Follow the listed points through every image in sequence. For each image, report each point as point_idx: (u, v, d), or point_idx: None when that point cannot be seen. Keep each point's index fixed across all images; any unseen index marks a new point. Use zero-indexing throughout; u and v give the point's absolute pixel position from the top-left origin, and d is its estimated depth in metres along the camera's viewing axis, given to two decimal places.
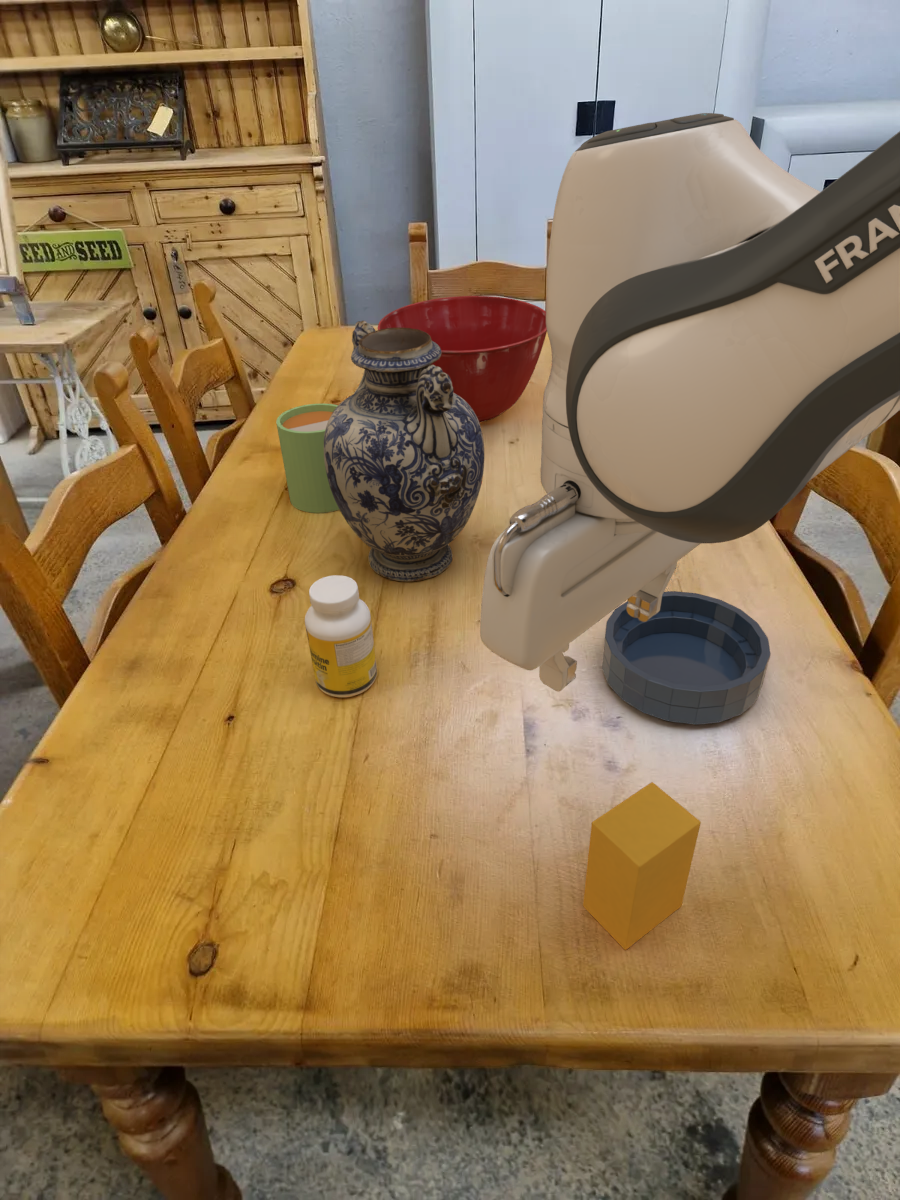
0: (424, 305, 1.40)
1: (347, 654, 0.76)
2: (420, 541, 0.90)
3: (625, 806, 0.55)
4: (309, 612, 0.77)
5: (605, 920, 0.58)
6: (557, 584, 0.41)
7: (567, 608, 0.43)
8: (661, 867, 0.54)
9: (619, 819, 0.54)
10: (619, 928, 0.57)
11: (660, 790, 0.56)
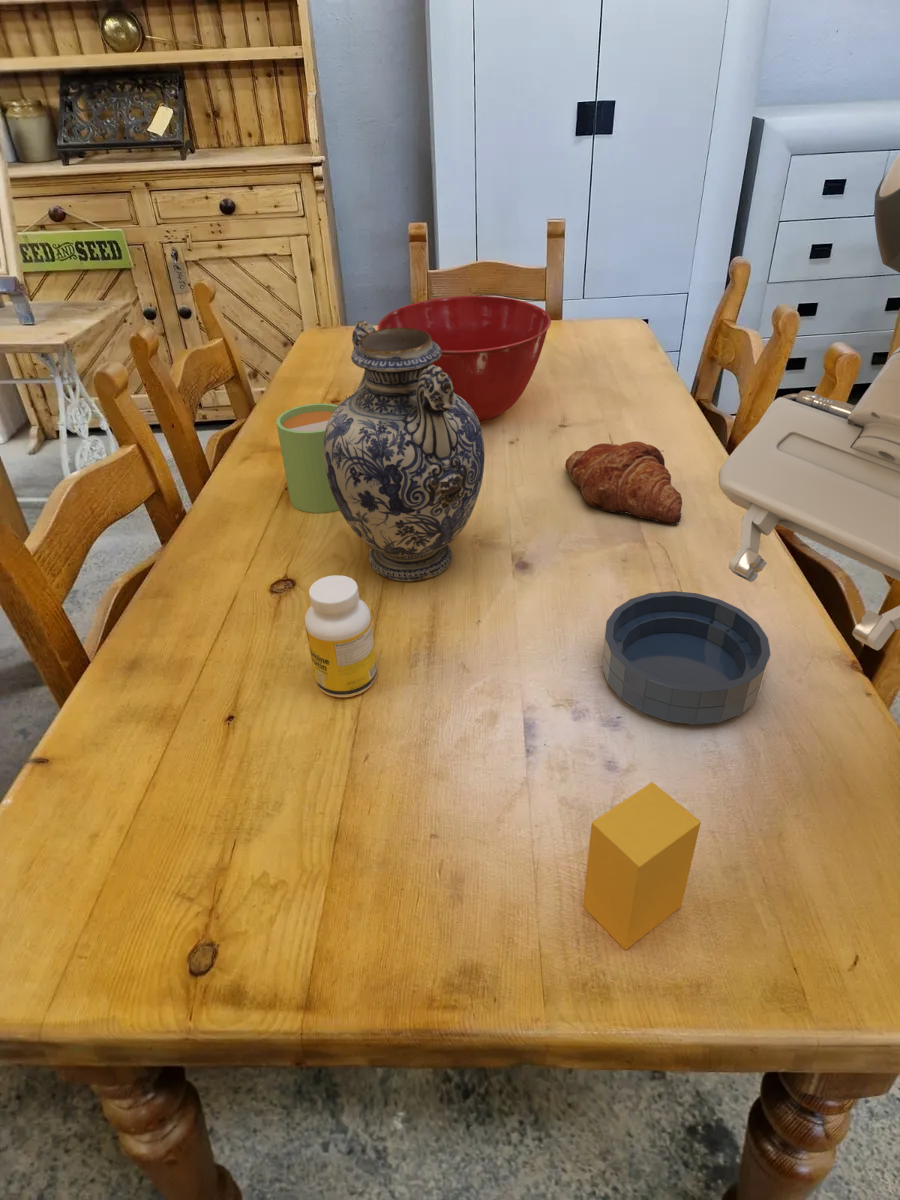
0: (425, 305, 1.40)
1: (347, 654, 0.76)
2: (420, 541, 0.90)
3: (625, 806, 0.55)
4: (309, 612, 0.77)
5: (605, 920, 0.58)
6: (779, 432, 0.55)
7: (774, 462, 0.55)
8: (661, 867, 0.54)
9: (619, 819, 0.54)
10: (619, 928, 0.57)
11: (660, 790, 0.56)
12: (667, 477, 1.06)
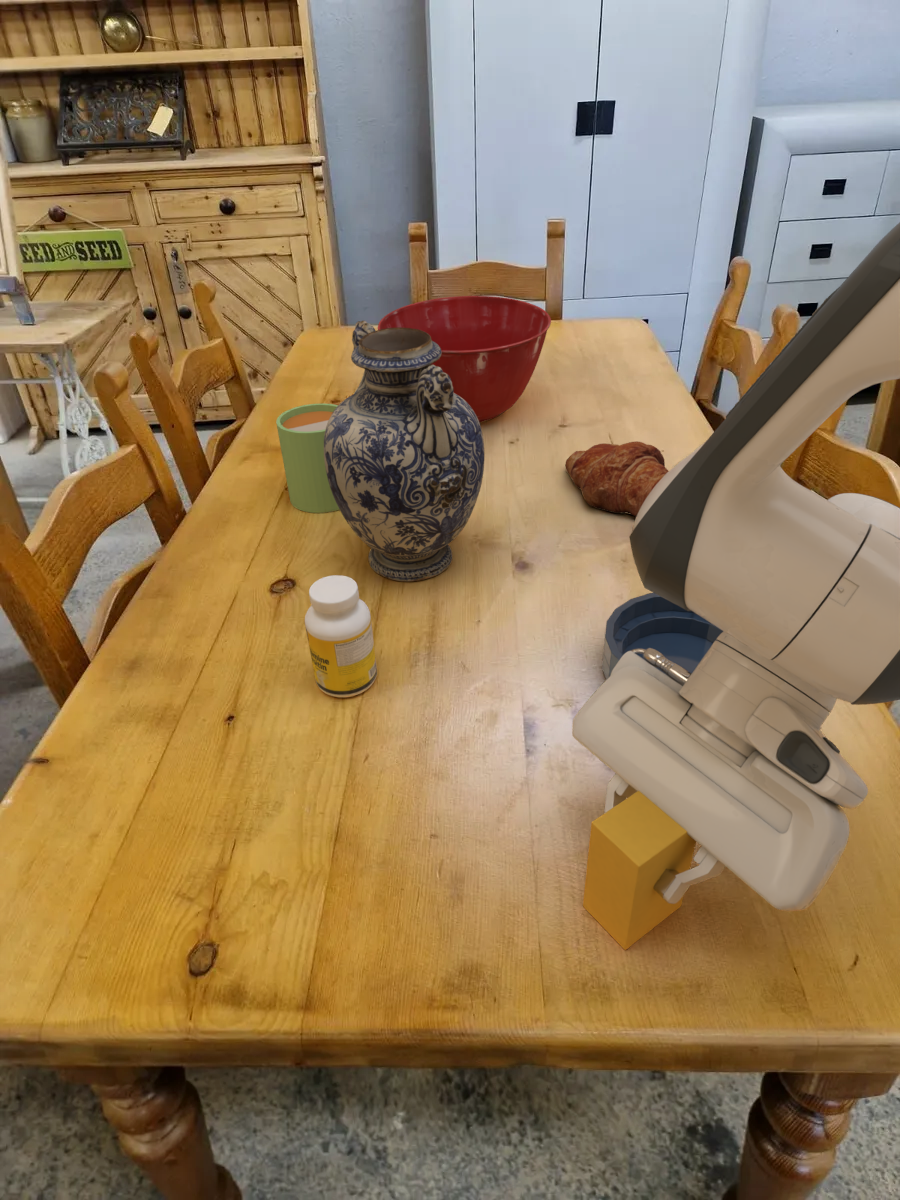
0: (425, 305, 1.40)
1: (347, 654, 0.76)
2: (420, 541, 0.90)
3: (625, 806, 0.55)
4: (309, 612, 0.77)
5: (605, 920, 0.58)
6: (623, 693, 0.59)
7: (617, 723, 0.59)
8: (661, 867, 0.54)
9: (619, 819, 0.54)
10: (619, 928, 0.57)
11: None
12: None
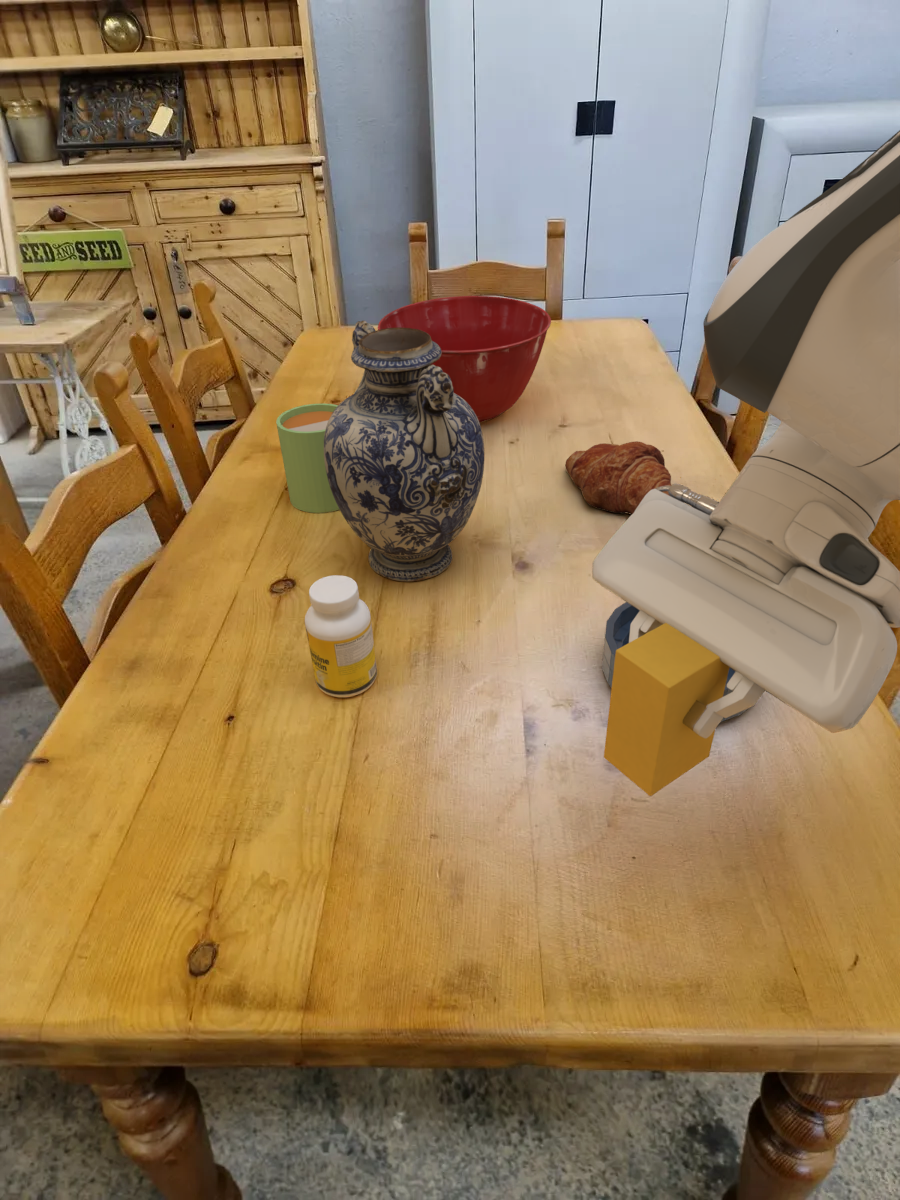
0: (425, 305, 1.40)
1: (347, 654, 0.76)
2: (420, 541, 0.90)
3: (652, 636, 0.51)
4: (309, 612, 0.77)
5: (628, 766, 0.54)
6: (647, 527, 0.55)
7: (641, 558, 0.55)
8: (691, 696, 0.50)
9: (645, 647, 0.51)
10: (644, 771, 0.53)
11: None
12: (667, 477, 1.06)
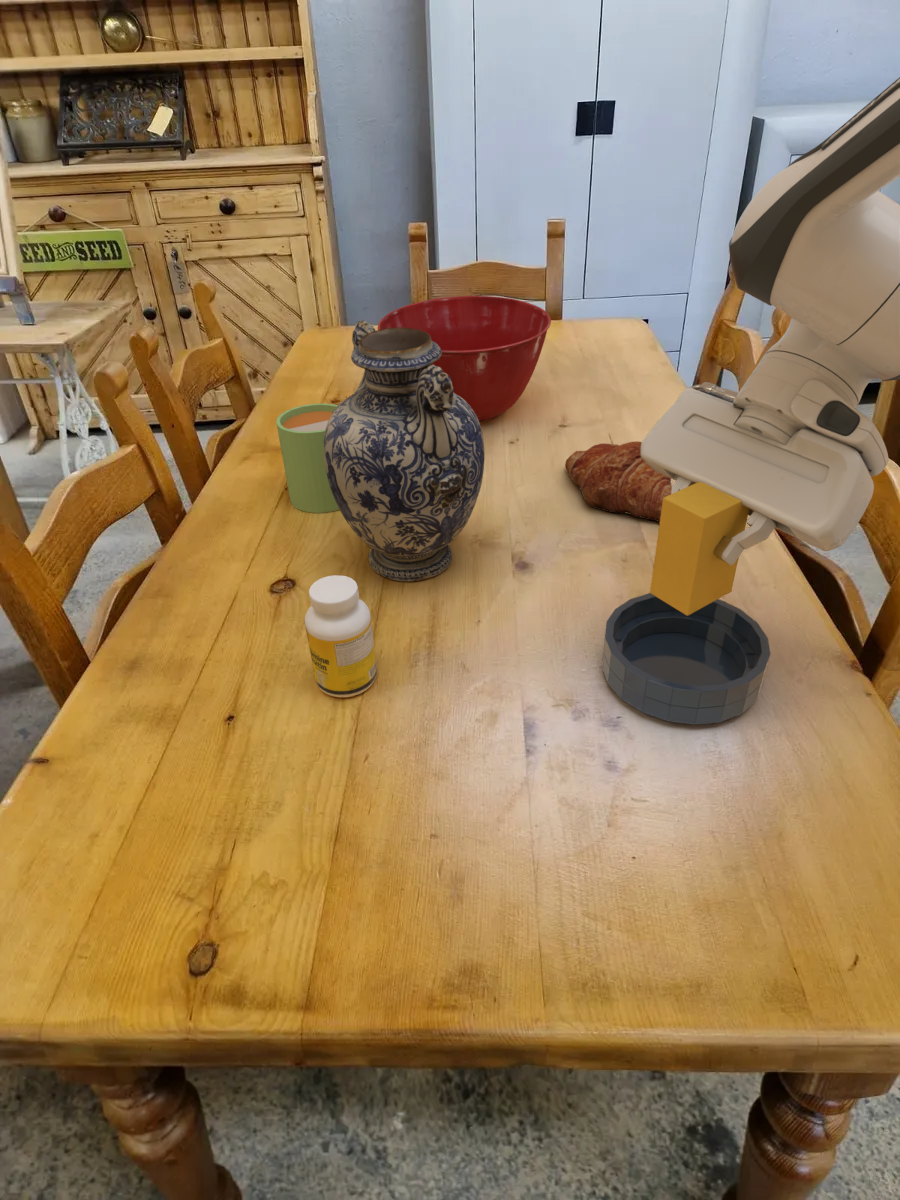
0: (425, 305, 1.40)
1: (347, 654, 0.76)
2: (420, 541, 0.90)
3: (690, 489, 0.68)
4: (309, 612, 0.77)
5: (670, 594, 0.71)
6: (684, 414, 0.72)
7: (680, 437, 0.72)
8: (720, 531, 0.66)
9: (685, 495, 0.67)
10: (683, 594, 0.69)
11: None
12: (667, 477, 1.06)
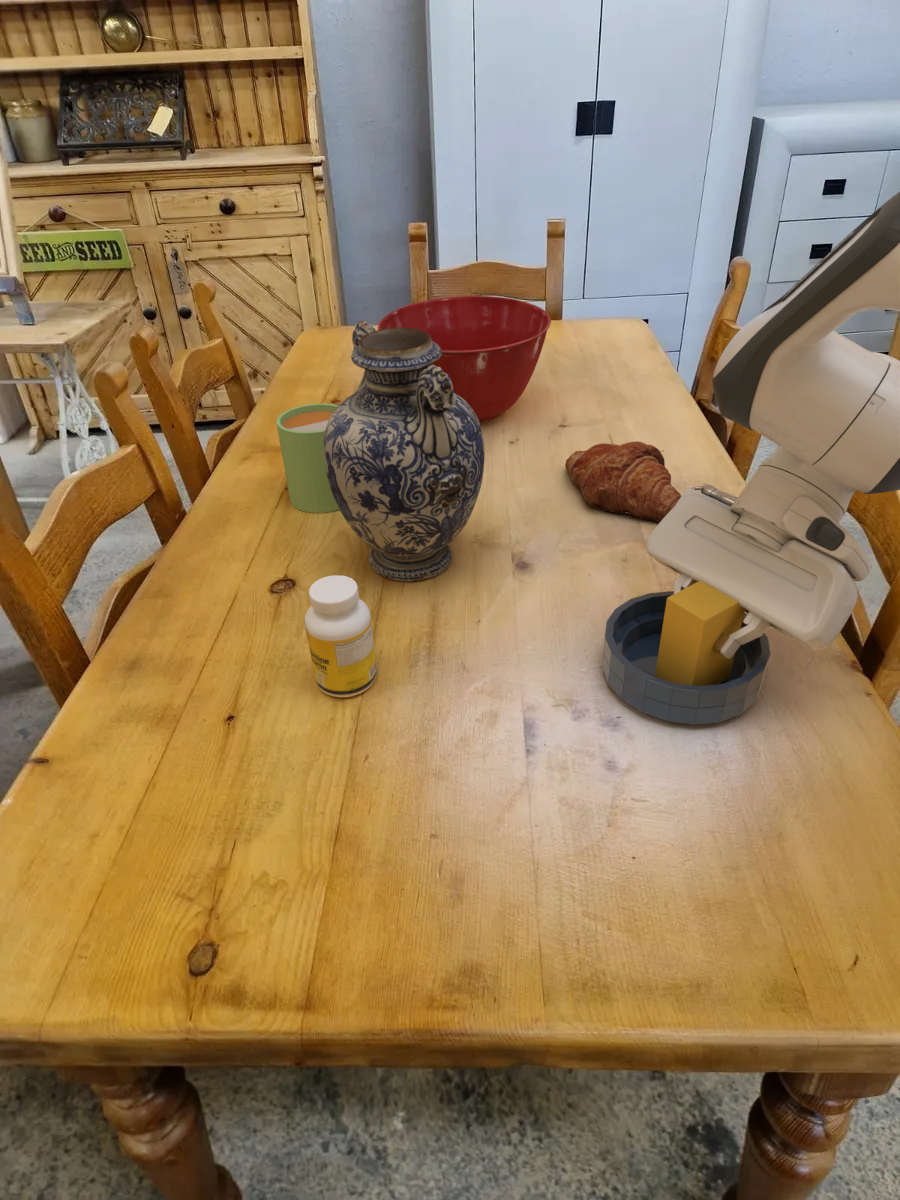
0: (425, 305, 1.40)
1: (347, 654, 0.76)
2: (420, 541, 0.90)
3: (691, 588, 0.75)
4: (309, 612, 0.77)
5: (673, 682, 0.77)
6: (686, 515, 0.79)
7: (682, 536, 0.78)
8: (719, 629, 0.73)
9: (687, 595, 0.74)
10: (685, 683, 0.76)
11: None
12: (667, 477, 1.06)
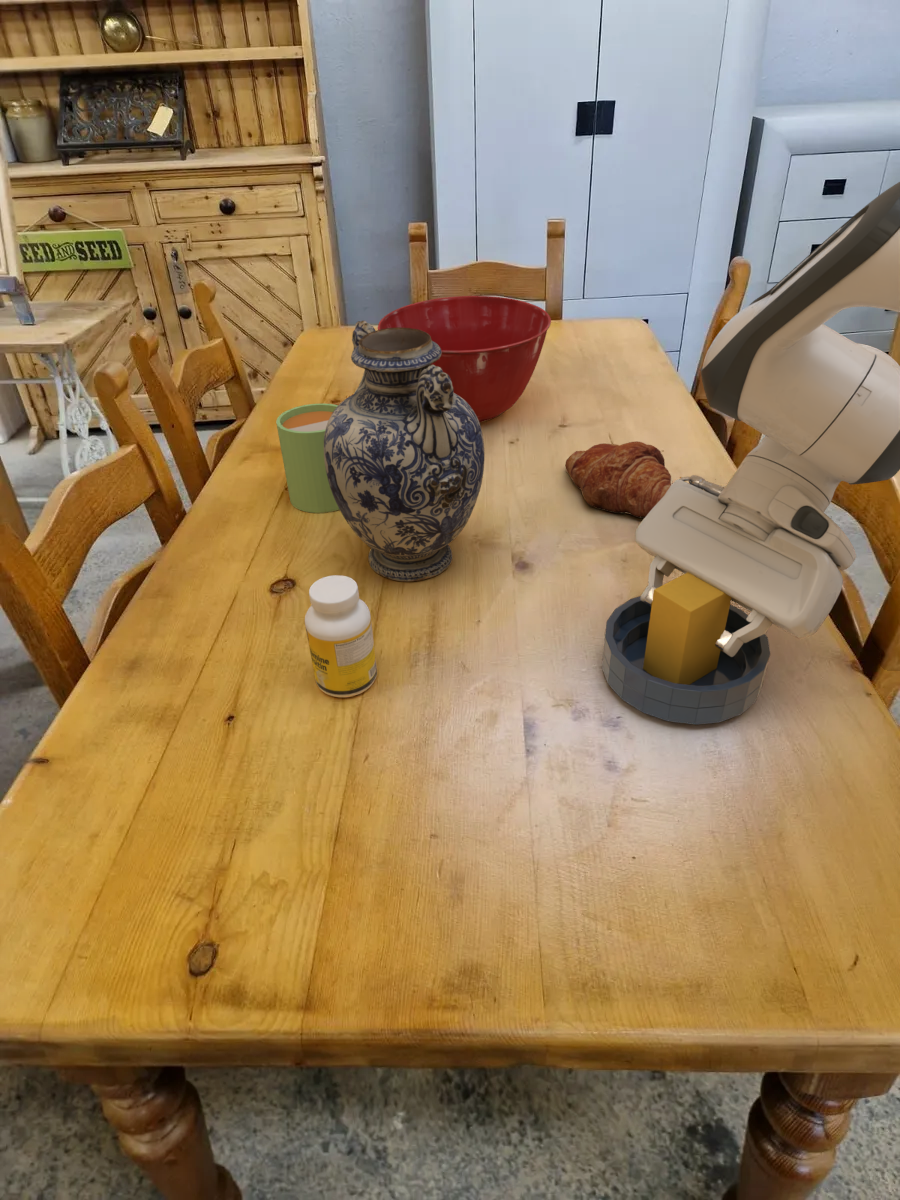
0: (425, 305, 1.40)
1: (347, 654, 0.76)
2: (420, 541, 0.90)
3: (678, 581, 0.76)
4: (309, 612, 0.77)
5: (661, 673, 0.78)
6: (674, 505, 0.80)
7: (670, 526, 0.79)
8: (705, 620, 0.74)
9: (674, 587, 0.75)
10: (672, 674, 0.77)
11: None
12: (667, 477, 1.06)
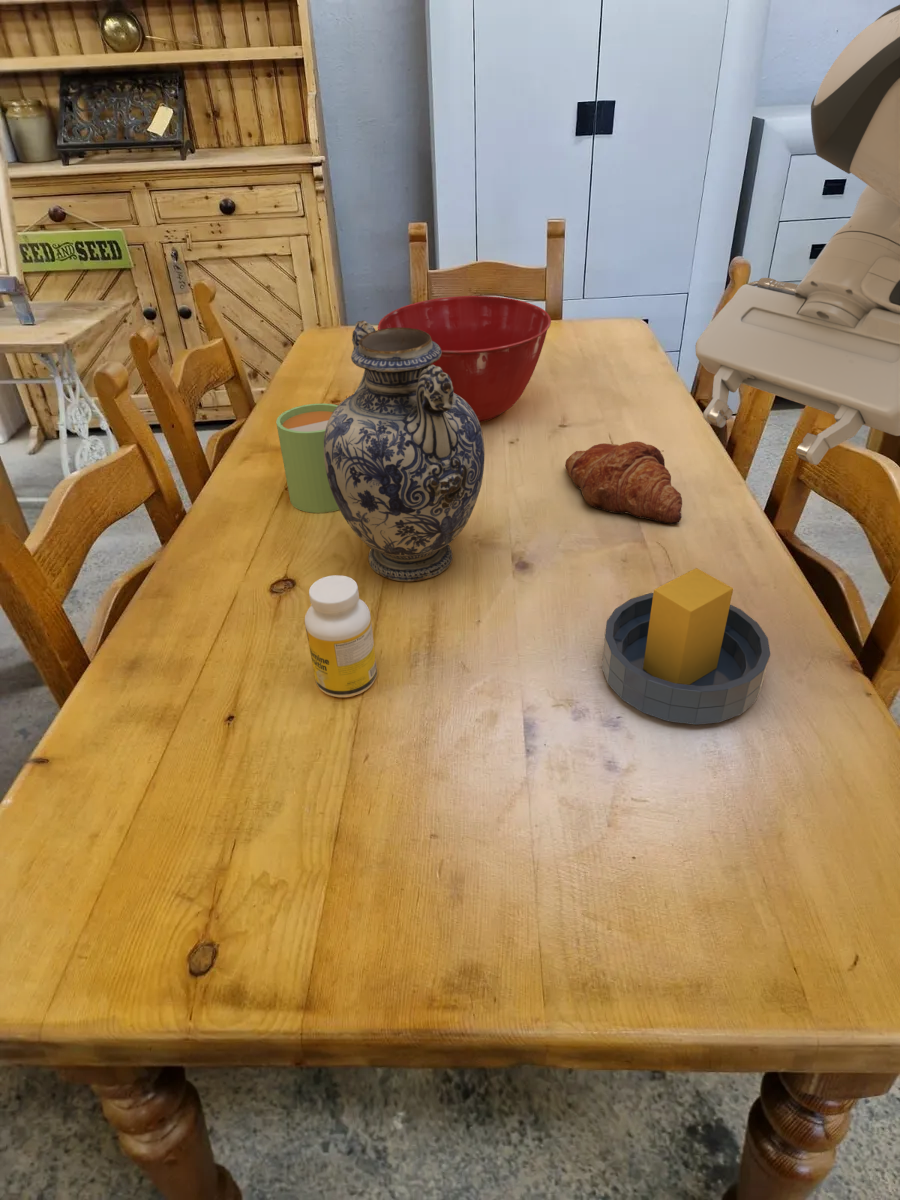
0: (425, 305, 1.40)
1: (347, 654, 0.76)
2: (420, 541, 0.90)
3: (678, 581, 0.76)
4: (309, 612, 0.77)
5: (661, 673, 0.78)
6: (743, 308, 0.70)
7: (738, 331, 0.69)
8: (705, 620, 0.74)
9: (674, 587, 0.75)
10: (672, 674, 0.77)
11: (702, 572, 0.77)
12: (667, 477, 1.06)
